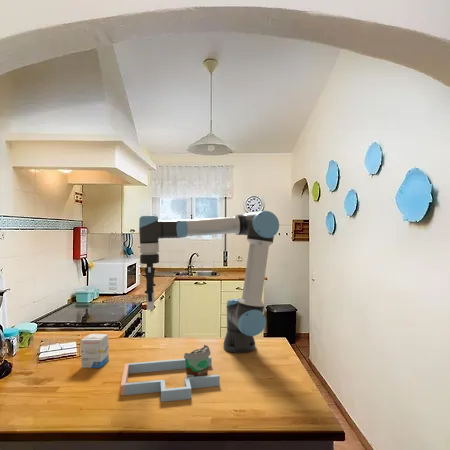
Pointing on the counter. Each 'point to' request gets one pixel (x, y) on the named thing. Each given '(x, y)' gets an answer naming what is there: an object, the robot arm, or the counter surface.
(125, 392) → the channel
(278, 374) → the counter surface
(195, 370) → the food container
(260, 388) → the counter surface
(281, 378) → the counter surface
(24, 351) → the counter surface
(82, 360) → the ink box
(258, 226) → the robot arm
